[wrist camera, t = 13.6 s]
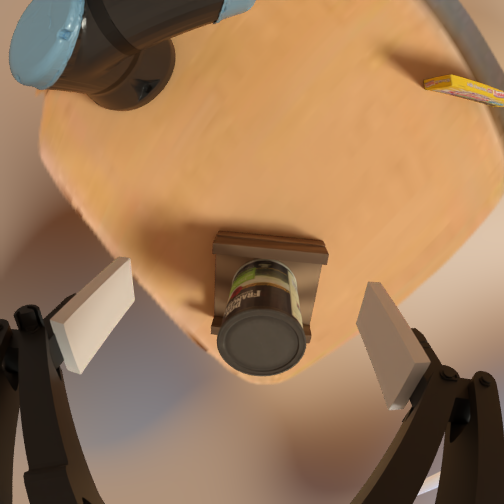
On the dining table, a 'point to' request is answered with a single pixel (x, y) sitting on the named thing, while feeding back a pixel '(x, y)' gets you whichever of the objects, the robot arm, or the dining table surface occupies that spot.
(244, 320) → the coffee can
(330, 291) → the dining table surface
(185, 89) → the dining table surface
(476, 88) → the candy box
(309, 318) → the stand
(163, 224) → the dining table surface
